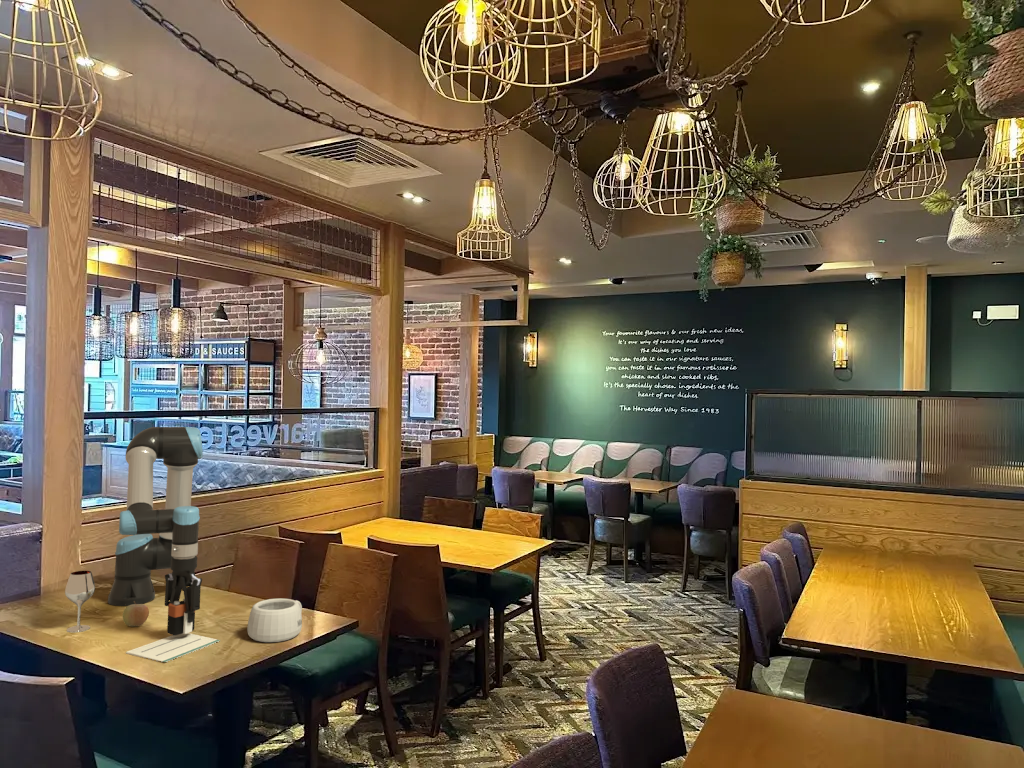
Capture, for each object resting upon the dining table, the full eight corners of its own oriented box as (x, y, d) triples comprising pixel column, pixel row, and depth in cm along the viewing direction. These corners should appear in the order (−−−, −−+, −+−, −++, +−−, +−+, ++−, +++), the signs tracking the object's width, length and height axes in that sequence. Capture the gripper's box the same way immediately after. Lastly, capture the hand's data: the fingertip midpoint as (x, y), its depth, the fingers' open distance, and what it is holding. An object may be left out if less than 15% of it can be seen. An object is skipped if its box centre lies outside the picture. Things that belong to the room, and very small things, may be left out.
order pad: (182, 632, 220) (182, 631, 220) (220, 641, 213) (220, 640, 213) (125, 653, 201) (125, 651, 201) (164, 663, 195) (164, 661, 195)
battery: (194, 630, 217) (196, 598, 217) (174, 636, 211) (175, 603, 211) (187, 627, 219) (188, 596, 219) (166, 633, 213) (167, 600, 214)
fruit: (121, 630, 220) (122, 605, 220) (123, 623, 227) (124, 598, 227) (147, 627, 223) (148, 602, 224) (149, 620, 230) (150, 596, 230)
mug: (278, 648, 210) (280, 615, 210) (235, 639, 216) (236, 607, 216) (321, 627, 230) (322, 597, 230) (280, 619, 236) (281, 590, 236)
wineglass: (78, 634, 215) (81, 576, 215) (56, 631, 217) (59, 574, 217) (99, 626, 223) (102, 570, 223) (77, 623, 225) (80, 568, 225)
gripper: (153, 555, 216) (150, 629, 215) (195, 562, 209) (192, 639, 208) (173, 550, 223) (170, 622, 222) (215, 557, 215) (211, 632, 215)
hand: (180, 630), depth 215 cm, fingers closed on battery, 5 cm apart
